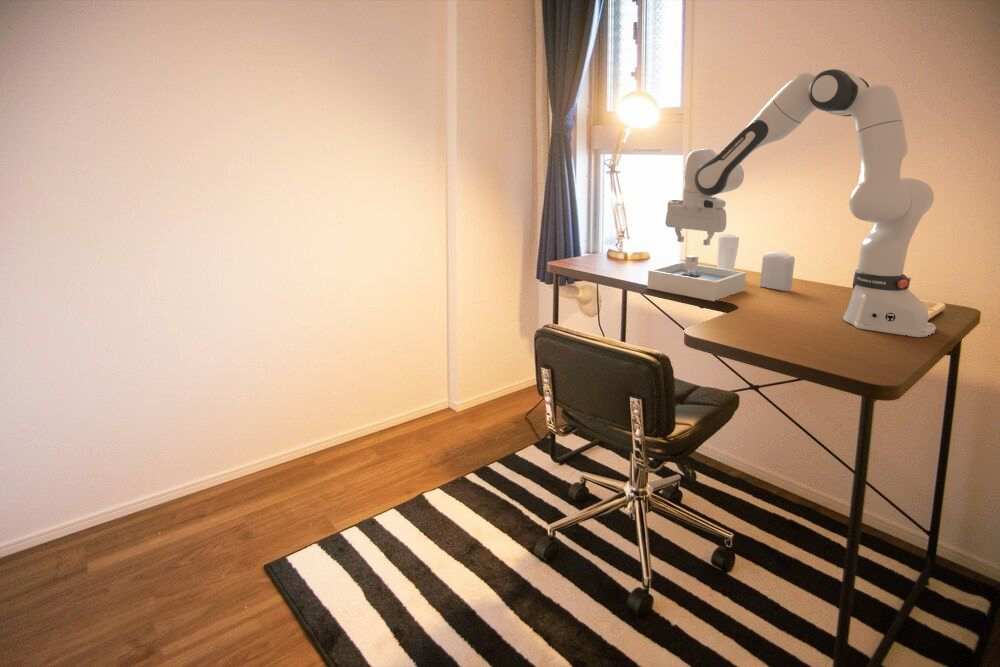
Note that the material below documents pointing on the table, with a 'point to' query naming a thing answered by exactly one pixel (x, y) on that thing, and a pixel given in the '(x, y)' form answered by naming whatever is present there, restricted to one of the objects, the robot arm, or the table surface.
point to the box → (697, 281)
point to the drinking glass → (727, 251)
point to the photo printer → (777, 270)
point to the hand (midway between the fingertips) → (693, 243)
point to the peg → (691, 266)
